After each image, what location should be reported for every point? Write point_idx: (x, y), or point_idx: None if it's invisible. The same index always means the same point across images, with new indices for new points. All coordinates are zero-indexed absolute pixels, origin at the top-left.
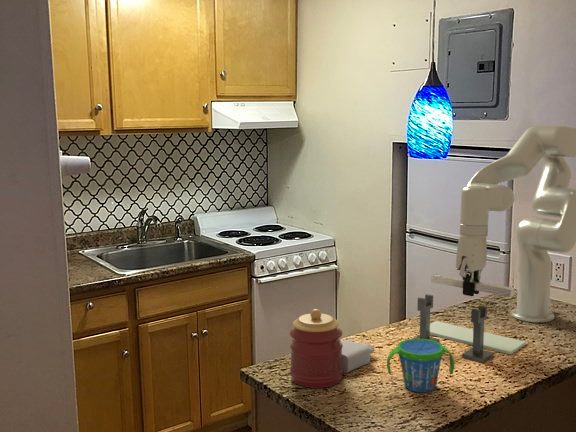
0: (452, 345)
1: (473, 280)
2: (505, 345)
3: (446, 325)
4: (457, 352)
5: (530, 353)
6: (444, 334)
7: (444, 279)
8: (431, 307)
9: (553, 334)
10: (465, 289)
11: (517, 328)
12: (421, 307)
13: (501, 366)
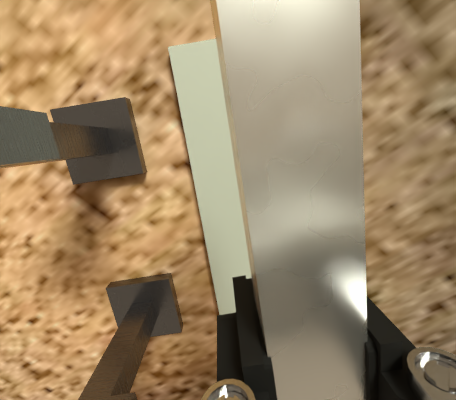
0: (161, 212)
1: (368, 396)
2: None
3: None
4: (129, 253)
5: None
6: (197, 151)
7: (224, 77)
8: (39, 161)
9: (443, 334)
10: (219, 338)
11: (432, 251)
12: None
13: (145, 365)
